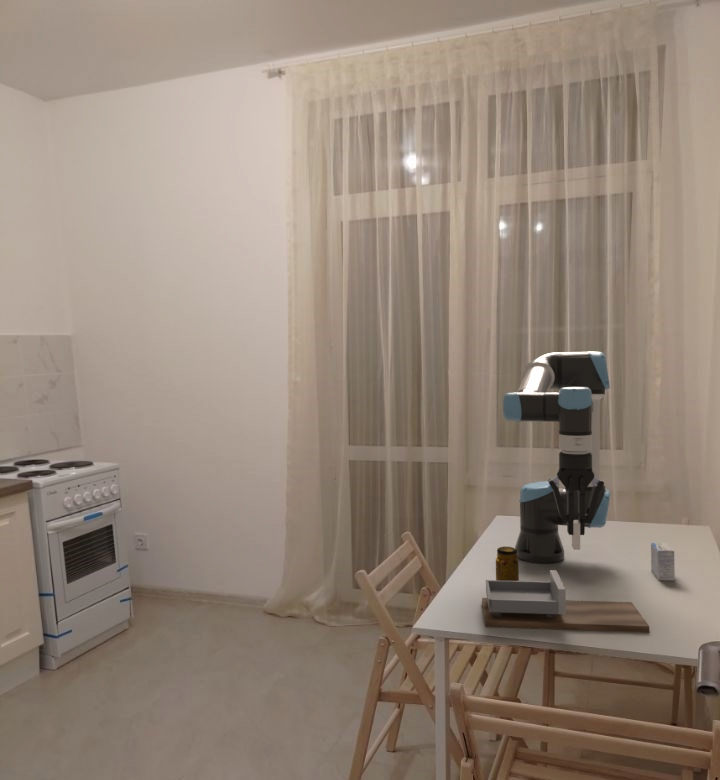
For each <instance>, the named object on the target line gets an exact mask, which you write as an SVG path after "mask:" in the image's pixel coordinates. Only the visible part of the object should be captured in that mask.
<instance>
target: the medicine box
mask: <svg viewBox="0 0 720 780" xmlns="http://www.w3.org/2000/svg"><path fill="white" fill-rule="evenodd" d="M650 552H651V553H650V557H651V558H650V563H651V564H650V565H651V566H650V570H651V572H652V573H653V575H654V576H655V577H656V579H657V580H658V581H662V582H663V581H664V582H666V581H667V582H669V581H670V582H675V581H676V578H675V576H676V574H675V573H676V570H675V551H674V549H673V548H672V547H671V546H670V545H669V544H668V543H667V542H651V543H650Z"/></svg>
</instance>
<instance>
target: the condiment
mask: <svg viewBox="0 0 720 780" xmlns="http://www.w3.org/2000/svg"><path fill="white" fill-rule="evenodd" d="M496 552H497V554H496V558H495V580H503V581H520V579H519V578H520V575H519V574H520V572H519V566H520V564H519V563H520V562H519V558H518V557H517V550H516V549H515V547H512V546H500V547H498V548H497V549H496Z"/></svg>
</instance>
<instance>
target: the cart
mask: <svg viewBox="0 0 720 780" xmlns="http://www.w3.org/2000/svg"><path fill="white" fill-rule="evenodd" d="M485 593H486V598H487V601H488V607H489V612H494V616H495V617H496V618H499V617H500V616H501V612H505V613H535V614H546V618H547V619H549V620H550V619H552V618H553V614H566V600H567V599H566V596H567V595H566V594H567V593H566V587H565V586H564V583H563V581H562V579H561V577H560V575H559V573H558V571H557V569H556V570H555V569H553V570H551V569H550V570H549V581H541V580H540V581H538V580H537V581H534V580H533V581H532V580H519V581H503V580H496V579H485Z"/></svg>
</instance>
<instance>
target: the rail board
mask: <svg viewBox="0 0 720 780" xmlns="http://www.w3.org/2000/svg"><path fill="white" fill-rule="evenodd" d="M481 603H482V604H481V605H482V610H483V618H484V619H483V620H484V627H486V628H487V627H488V628H512V629H513V628H514V629H534V630H535V629H537V630H538V629H543V630H564V631H566V630H569V631H595V632H596V631H597V632H598V631H599V632H621V633H623V632H624V633H650V625H649V623H648V622H647V621H646V619H645V618H644V617H643V615H642V614H641V612H640V611H639V610H638V609H637V607H636V606H635V605H634V604H633V602H632V601H605V600H604V601H603V600H600V601H599V600H570V599H569V600H567V599H566V614H553V618H552V619H550V620H549V619H547V618H546V614H535V613H505V612H501V616H500V617H499V618H496V617H495V616H494V612H489V607H488V601H487V597H481Z"/></svg>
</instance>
